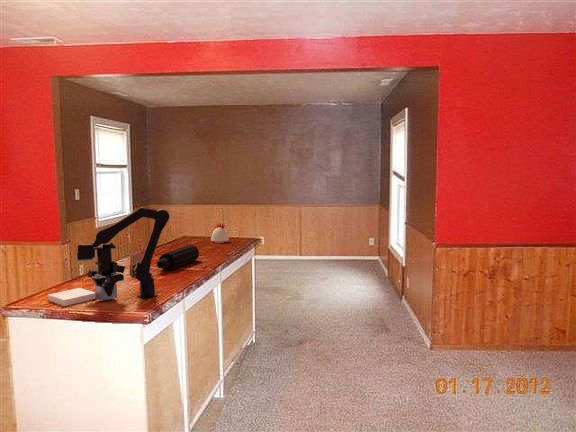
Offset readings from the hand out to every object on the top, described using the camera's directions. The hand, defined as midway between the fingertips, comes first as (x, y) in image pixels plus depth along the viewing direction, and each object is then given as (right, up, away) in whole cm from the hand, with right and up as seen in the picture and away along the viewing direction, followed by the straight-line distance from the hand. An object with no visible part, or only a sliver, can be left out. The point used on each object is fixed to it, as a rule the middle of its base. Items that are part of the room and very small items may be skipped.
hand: (106, 295), depth 191 cm
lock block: (0, -1, 0) cm, 1 cm away
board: (-15, -2, +2) cm, 15 cm away
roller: (+13, +4, +69) cm, 71 cm away
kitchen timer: (+24, +13, +160) cm, 162 cm away
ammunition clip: (-5, +3, +53) cm, 53 cm away
